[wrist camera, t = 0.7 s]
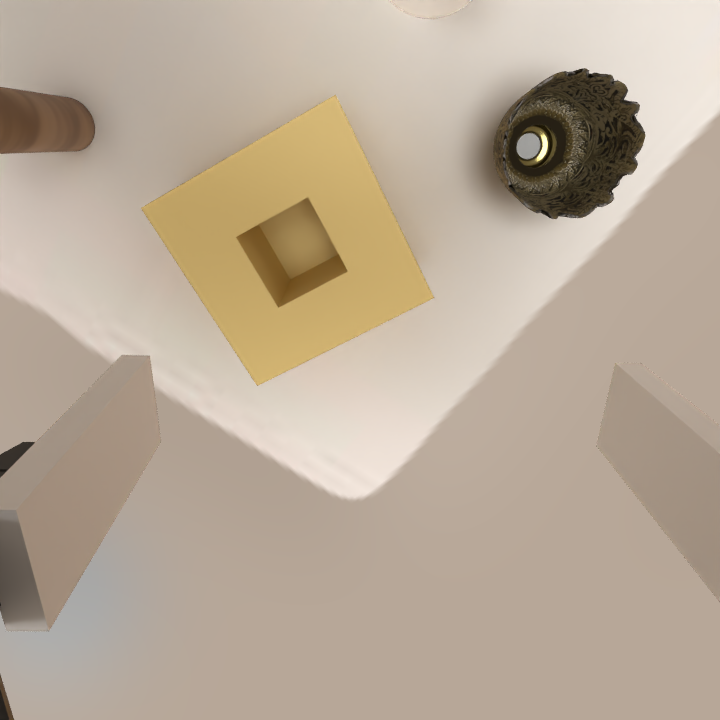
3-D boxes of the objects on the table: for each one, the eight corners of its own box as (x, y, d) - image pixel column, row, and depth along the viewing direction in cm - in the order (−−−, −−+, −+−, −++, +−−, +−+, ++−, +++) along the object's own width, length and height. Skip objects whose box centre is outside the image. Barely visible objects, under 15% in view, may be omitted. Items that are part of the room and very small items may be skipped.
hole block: (183, 194, 37) (140, 207, 29) (338, 104, 35) (335, 94, 28) (274, 341, 41) (257, 385, 34) (418, 268, 39) (433, 297, 32)
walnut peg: (33, 113, 35) (-155, 96, 22) (73, 87, 34) (-95, 54, 21) (65, 160, 36) (-96, 170, 23) (104, 135, 35) (-37, 132, 22)
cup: (521, 58, 34) (569, 34, 27) (607, 128, 36) (675, 124, 28) (450, 163, 36) (475, 168, 29) (534, 225, 38) (579, 245, 31)
